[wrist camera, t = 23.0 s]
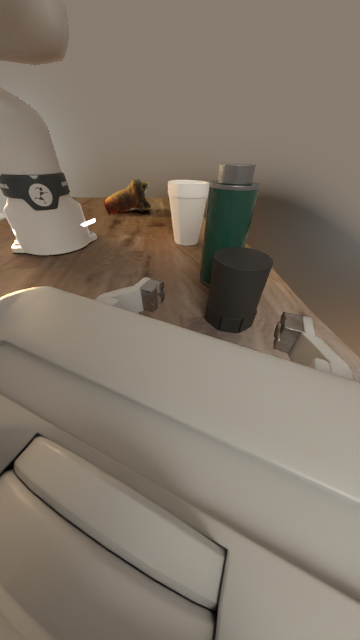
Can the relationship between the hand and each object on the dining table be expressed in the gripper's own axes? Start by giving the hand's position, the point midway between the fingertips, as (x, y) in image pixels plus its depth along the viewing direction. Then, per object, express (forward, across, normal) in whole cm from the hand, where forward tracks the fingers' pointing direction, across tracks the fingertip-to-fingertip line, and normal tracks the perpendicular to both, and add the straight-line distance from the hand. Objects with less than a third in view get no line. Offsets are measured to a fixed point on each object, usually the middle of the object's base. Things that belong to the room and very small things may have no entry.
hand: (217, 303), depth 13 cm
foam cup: (+39, +17, +11) cm, 43 cm away
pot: (+60, +47, +11) cm, 77 cm away
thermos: (+22, +4, +10) cm, 24 cm away
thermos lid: (+12, 0, +10) cm, 16 cm away
